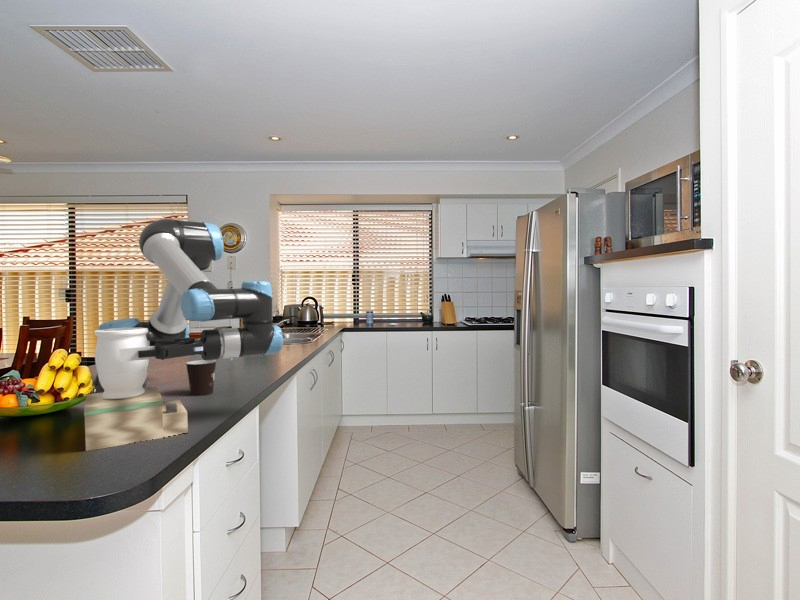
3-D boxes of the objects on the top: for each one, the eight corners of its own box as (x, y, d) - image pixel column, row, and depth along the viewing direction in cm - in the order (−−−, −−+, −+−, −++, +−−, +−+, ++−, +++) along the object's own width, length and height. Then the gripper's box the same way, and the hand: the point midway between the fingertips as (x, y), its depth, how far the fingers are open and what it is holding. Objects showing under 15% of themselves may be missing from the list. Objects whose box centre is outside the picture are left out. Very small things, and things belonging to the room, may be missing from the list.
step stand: (179, 418, 114) (178, 383, 113) (187, 433, 102) (186, 394, 101) (87, 433, 103) (86, 394, 103) (85, 451, 91) (83, 407, 91)
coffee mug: (205, 397, 137) (204, 364, 136) (180, 396, 138) (180, 364, 138) (227, 388, 148) (227, 358, 148) (204, 387, 150) (203, 358, 149)
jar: (101, 393, 104) (99, 328, 103) (152, 388, 108) (150, 326, 108) (91, 403, 94) (89, 332, 94) (147, 398, 98) (146, 329, 98)
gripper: (231, 365, 101) (120, 377, 90) (209, 353, 122) (118, 361, 111) (230, 332, 101) (119, 339, 90) (209, 326, 122) (117, 330, 110)
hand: (118, 351), depth 100 cm, fingers open, 13 cm apart
